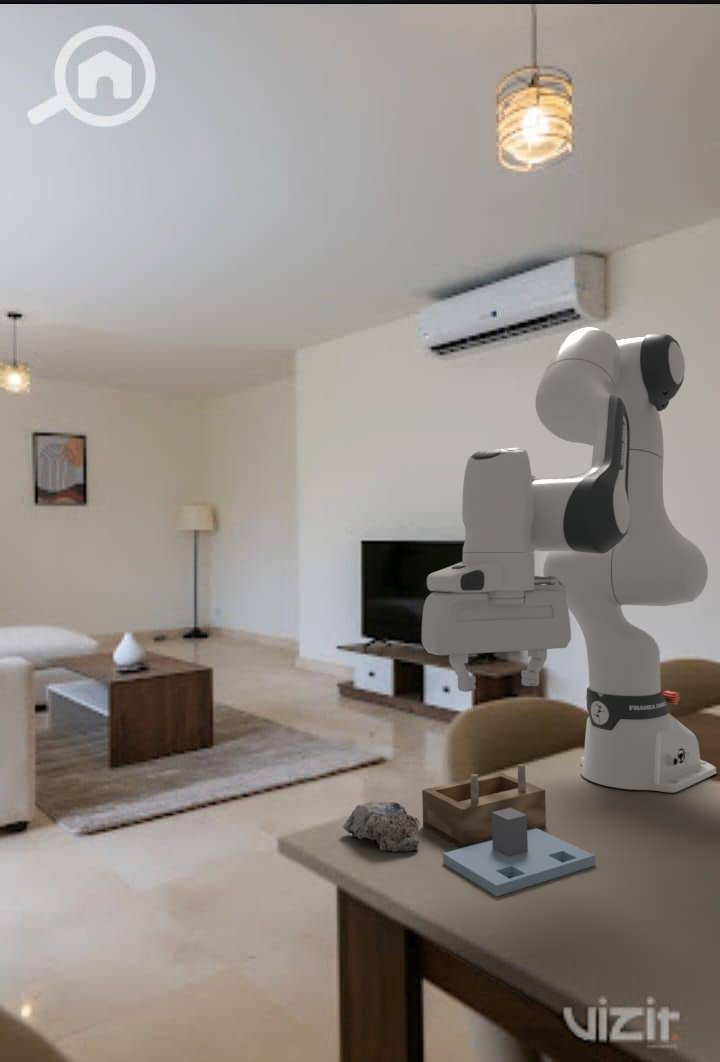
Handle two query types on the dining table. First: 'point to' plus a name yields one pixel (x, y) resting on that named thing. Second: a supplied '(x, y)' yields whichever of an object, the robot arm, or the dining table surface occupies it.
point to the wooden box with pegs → (480, 806)
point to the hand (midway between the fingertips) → (499, 688)
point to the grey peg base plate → (516, 856)
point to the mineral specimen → (384, 825)
